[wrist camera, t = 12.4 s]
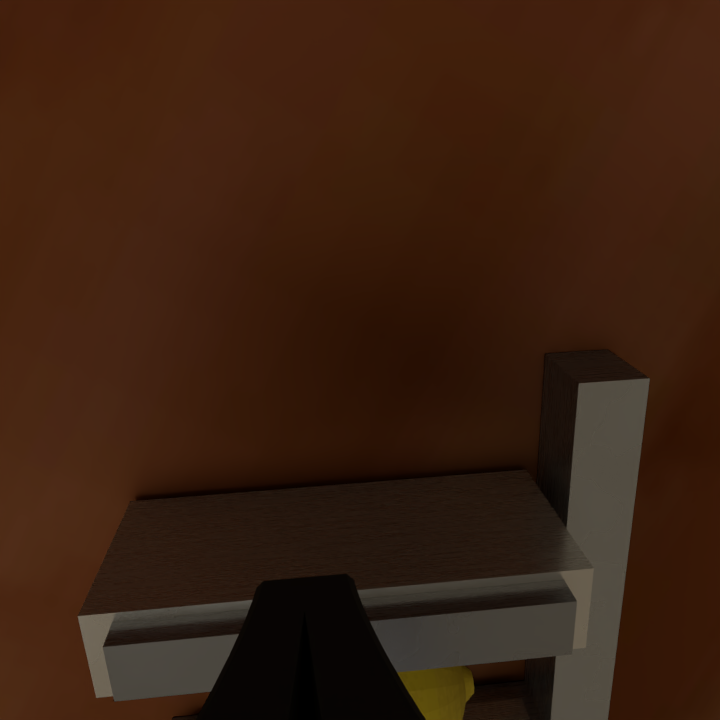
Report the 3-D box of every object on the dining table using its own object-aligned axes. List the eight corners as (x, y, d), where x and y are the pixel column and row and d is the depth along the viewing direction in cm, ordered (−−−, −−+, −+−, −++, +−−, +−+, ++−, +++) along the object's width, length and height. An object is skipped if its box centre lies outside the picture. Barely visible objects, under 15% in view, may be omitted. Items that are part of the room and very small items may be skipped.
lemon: (193, 661, 17) (490, 629, 17) (223, 589, 22) (448, 566, 23) (209, 872, 17) (507, 833, 17) (235, 747, 22) (460, 721, 23)
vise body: (568, 753, 25) (638, 913, 20) (186, 797, 24) (156, 978, 19) (607, 349, 20) (720, 426, 15) (112, 382, 19) (39, 479, 13)
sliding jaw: (522, 535, 21) (599, 671, 16) (142, 569, 20) (86, 725, 15) (526, 469, 21) (608, 589, 15) (130, 501, 20) (65, 641, 14)
